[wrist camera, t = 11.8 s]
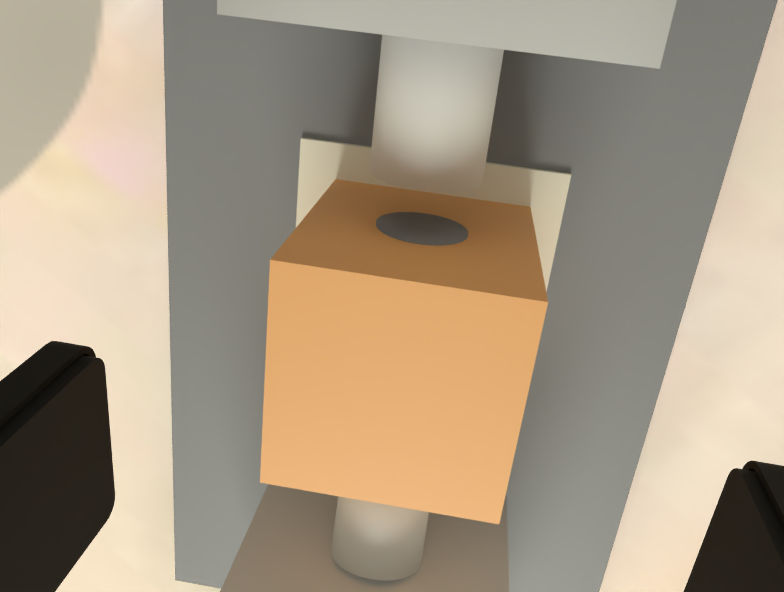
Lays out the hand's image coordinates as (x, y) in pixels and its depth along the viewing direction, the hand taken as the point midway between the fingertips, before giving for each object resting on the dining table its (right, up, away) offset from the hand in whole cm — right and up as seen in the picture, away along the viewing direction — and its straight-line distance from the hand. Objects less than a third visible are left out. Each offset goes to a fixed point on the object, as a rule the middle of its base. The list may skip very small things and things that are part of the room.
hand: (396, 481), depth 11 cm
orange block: (+1, +3, +8) cm, 9 cm away
